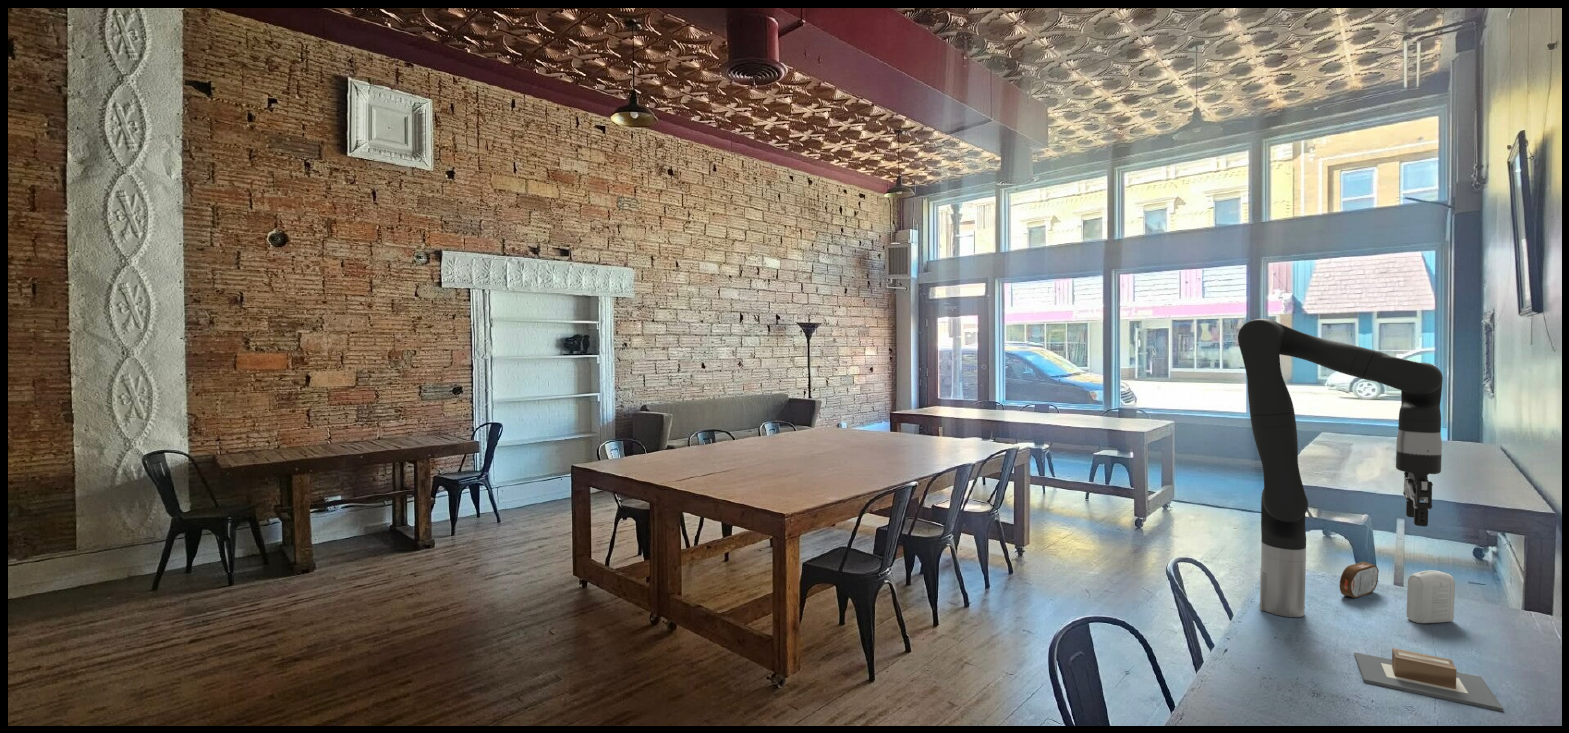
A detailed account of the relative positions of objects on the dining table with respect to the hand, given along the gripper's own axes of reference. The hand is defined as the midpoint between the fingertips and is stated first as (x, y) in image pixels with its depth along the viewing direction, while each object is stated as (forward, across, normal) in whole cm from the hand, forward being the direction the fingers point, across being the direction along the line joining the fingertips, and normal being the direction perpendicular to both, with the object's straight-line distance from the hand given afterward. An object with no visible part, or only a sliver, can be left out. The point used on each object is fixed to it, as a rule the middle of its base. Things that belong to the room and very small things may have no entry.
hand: (1416, 521), depth 154 cm
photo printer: (+28, +18, -6) cm, 34 cm away
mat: (+28, -22, +2) cm, 36 cm away
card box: (+27, -22, +2) cm, 35 cm away
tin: (+28, +30, +6) cm, 42 cm away
